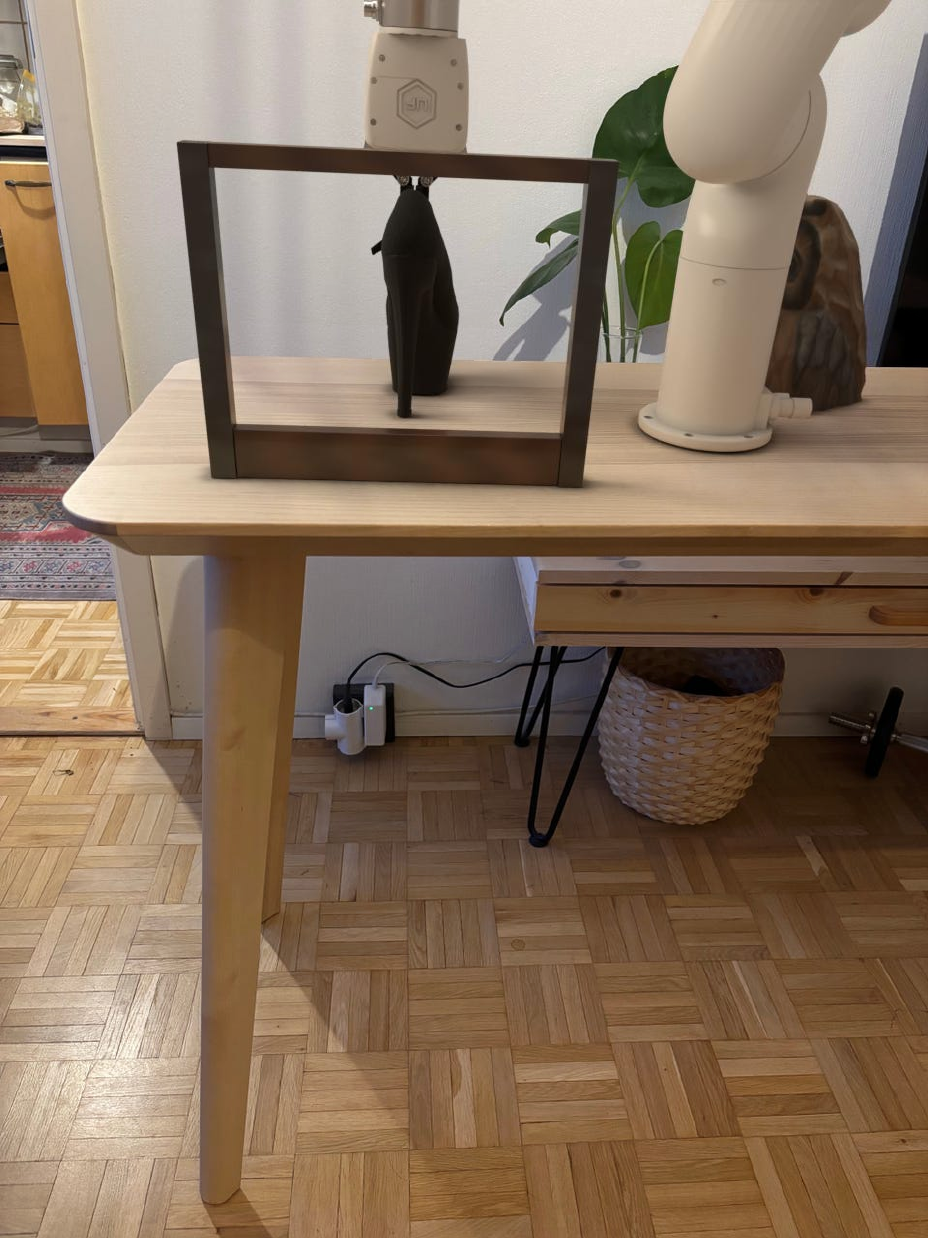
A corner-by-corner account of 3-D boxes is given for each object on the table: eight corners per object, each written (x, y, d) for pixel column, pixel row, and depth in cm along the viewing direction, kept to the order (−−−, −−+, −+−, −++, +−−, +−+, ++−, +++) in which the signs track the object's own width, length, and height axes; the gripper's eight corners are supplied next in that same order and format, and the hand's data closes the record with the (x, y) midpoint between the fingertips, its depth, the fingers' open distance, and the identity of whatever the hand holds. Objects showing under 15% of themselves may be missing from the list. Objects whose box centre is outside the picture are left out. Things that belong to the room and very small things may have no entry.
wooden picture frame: (578, 478, 77) (614, 158, 65) (582, 487, 75) (619, 161, 63) (215, 468, 76) (182, 139, 63) (211, 478, 74) (176, 141, 62)
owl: (793, 418, 93) (842, 203, 83) (700, 386, 102) (734, 188, 92) (867, 401, 100) (922, 199, 90) (773, 372, 109) (813, 185, 98)
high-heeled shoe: (461, 371, 103) (469, 174, 93) (441, 426, 87) (448, 194, 77) (391, 366, 104) (391, 169, 94) (357, 420, 87) (354, 189, 77)
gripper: (336, 10, 84) (339, 228, 93) (500, 22, 84) (486, 236, 94) (342, 14, 90) (344, 217, 99) (495, 24, 91) (482, 225, 100)
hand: (413, 226), depth 97 cm, fingers closed
